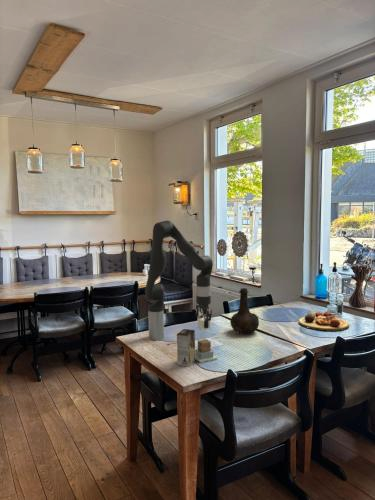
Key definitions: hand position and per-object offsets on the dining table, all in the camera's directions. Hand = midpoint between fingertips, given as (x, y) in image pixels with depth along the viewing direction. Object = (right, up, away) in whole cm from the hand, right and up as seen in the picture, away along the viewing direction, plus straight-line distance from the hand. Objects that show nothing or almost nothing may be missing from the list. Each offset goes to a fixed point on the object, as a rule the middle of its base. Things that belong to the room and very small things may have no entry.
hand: (203, 326), depth 196 cm
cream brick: (0, -1, 0) cm, 1 cm away
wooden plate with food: (+83, -11, +58) cm, 102 cm away
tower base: (0, -17, +2) cm, 17 cm away
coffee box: (-9, -18, -4) cm, 20 cm away
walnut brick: (0, -13, +1) cm, 13 cm away
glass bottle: (+28, -13, +44) cm, 54 cm away
